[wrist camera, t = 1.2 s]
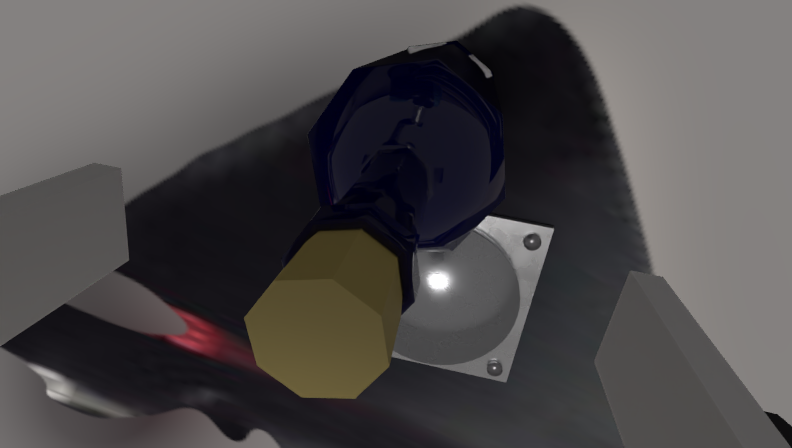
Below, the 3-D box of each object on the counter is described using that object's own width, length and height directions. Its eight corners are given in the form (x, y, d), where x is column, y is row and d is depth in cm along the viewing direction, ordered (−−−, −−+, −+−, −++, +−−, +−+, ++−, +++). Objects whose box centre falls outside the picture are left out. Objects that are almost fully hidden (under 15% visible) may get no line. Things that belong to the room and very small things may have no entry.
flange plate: (361, 188, 40) (356, 195, 38) (553, 225, 38) (556, 234, 37) (342, 341, 46) (337, 352, 45) (505, 378, 45) (506, 390, 43)
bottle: (365, 141, 38) (86, 433, 11) (396, 22, 34) (86, 9, 7) (474, 176, 38) (470, 565, 11) (517, 59, 34) (682, 197, 7)
